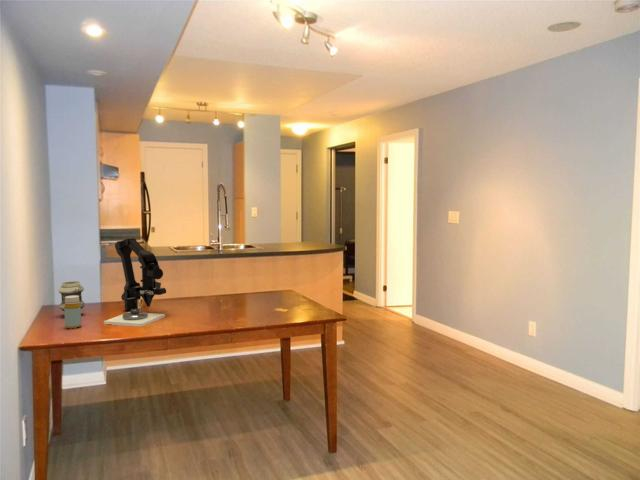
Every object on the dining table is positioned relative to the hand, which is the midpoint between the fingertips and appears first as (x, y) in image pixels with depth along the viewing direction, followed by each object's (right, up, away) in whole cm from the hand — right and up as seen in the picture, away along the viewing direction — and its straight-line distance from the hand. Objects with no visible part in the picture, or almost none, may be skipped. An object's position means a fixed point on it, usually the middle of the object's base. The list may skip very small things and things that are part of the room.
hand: (148, 306), depth 262 cm
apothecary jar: (-40, -5, 0) cm, 40 cm away
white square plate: (-3, -6, -10) cm, 12 cm away
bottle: (-28, -7, -23) cm, 37 cm away
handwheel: (-4, -4, -7) cm, 8 cm away
